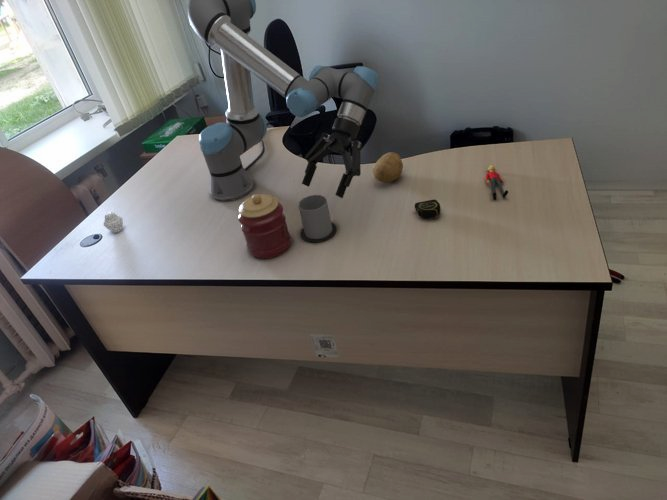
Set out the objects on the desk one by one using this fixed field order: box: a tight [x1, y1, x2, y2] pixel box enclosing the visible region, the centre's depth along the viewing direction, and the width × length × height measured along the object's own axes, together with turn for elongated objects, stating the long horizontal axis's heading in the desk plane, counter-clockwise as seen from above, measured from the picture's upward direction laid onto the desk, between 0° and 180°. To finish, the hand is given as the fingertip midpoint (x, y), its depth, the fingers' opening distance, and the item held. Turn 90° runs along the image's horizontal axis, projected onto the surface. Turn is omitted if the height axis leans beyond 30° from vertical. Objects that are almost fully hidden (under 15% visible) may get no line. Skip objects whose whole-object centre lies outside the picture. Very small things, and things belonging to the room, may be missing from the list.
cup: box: [297, 194, 333, 239], centre depth 140 cm, size 8×8×10 cm
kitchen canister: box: [237, 193, 292, 259], centre depth 136 cm, size 13×13×18 cm
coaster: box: [300, 221, 338, 244], centre depth 143 cm, size 11×11×1 cm
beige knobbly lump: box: [103, 211, 124, 234], centre depth 160 cm, size 6×6×7 cm
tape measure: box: [414, 199, 441, 220], centre depth 140 cm, size 7×7×4 cm
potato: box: [371, 151, 404, 184], centre depth 159 cm, size 10×14×8 cm
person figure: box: [485, 164, 509, 201], centre depth 147 cm, size 5×4×18 cm
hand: (321, 190), depth 138 cm, fingers open, 13 cm apart
